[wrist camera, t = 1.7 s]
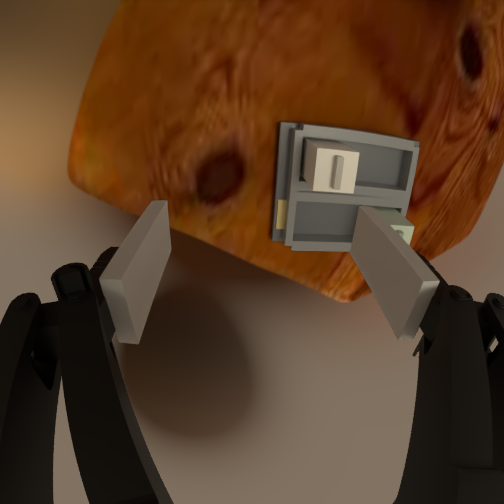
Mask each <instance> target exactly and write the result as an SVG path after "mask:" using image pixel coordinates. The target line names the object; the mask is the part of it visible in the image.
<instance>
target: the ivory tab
mask: <svg viewBox="0 0 504 504" xmlns="http://www.w3.org/2000/svg"><path fill="white" fill-rule="evenodd" d="M358 160H359V152H358V151H356V150H354V149H352V148H350V147H349V146H347V145H345V144H343V143H341V142H340V141H331V140H322V139H311V138H304V142H303V153H302V164H301V175H302V176H303V178H304V179H305V180H306V182H307V183H308V185H309V186H310V187H311V189H312V190H313V191H324V192H339V193H352V194H353V193H354V187H355V180H356V174H357V167H358Z"/></svg>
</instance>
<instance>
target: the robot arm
mask: <svg viewBox="0 0 504 504" xmlns="http://www.w3.org/2000/svg"><path fill="white" fill-rule="evenodd" d="M170 252H171V241H170V230H169V218H168V205H167V200H153V201H151V203H150V204H149V206H148V207H147V208H146V210H145V211H144V212H143V214H142V215H141V217H140V218H139V219H138V221H137V222H136V224H135V225H134V227H133V228H132V229H131V231H130V232H129V234H128V235H127V237H126V238H125V240H124V241H123V243H122V244H121V246H120V247H110V248H108V249H107V250H106V251H104V252H103V253H102V254H101V255H100V257H99V258H98V259H97V262H95V264H94V265H93V268H91V269H90V271H89V269H88V267H87V265H85V264H83V263H70V264H67V265H64V266H62V267H60V268H58V269H57V270H56V271H55V272H54V273H53V274H52V276H51V281H52V284H53V287H54V290H55V292H56V295H57V298H58V301H56V302H50V303H43V304H41V301H40V299H39V297H38V295H37V294H35V293H25V294H21V295H19V296H17V297H16V298H15V299H14V300H13V301H12V302H11V303H10V305H9V306H8V309H7V311H6V313H5V315H4V317H3V319H2V322H1V324H0V504H54V503H53V452H54V435H55V422H56V413H57V404H58V396H59V389H60V382H61V376H62V382H63V390H64V398H65V404H66V411H67V417H68V423H69V428H70V433H71V438H72V442H73V447H74V452H75V456H76V460H77V463H78V467H79V471H80V475H81V478H82V482H83V485H84V488H85V491H86V495H87V498H88V500H89V504H174V503H173V502H172V500H171V498H170V495H169V493H168V492H167V490H166V487H165V486H164V483H163V481H162V479H161V477H160V475H159V473H158V471H157V468H156V466H155V464H154V462H153V459H152V457H151V455H150V452H149V450H148V448H147V445H146V443H145V440H144V438H143V435H142V433H141V430H140V427H139V425H138V422H137V419H136V416H135V414H134V411H133V408H132V405H131V402H130V399H129V396H128V393H127V390H126V387H125V384H124V380H123V377H122V374H121V370H120V367H119V363H118V360H117V356H116V352H115V349H114V346H113V343H112V337H113V334H114V332H116V335H117V338H118V340H119V342H123V343H133V344H139V341H140V338H141V335H142V332H143V329H144V326H145V323H146V319H147V317H148V314H149V311H150V308H151V304H152V302H153V299H154V296H155V293H156V291H157V288H158V285H159V282H160V279H161V277H162V274H163V271H164V268H165V265H166V263H167V260H168V258H169V255H170ZM350 255H351V256H352V258H353V260H354V261H355V263H356V265H357V266H358V268H359V270H360V271H361V273H362V275H363V277H364V278H365V280H366V282H367V284H368V285H369V287H370V289H371V291H372V293H373V294H374V296H375V298H376V300H377V302H378V303H379V305H380V307H381V309H382V311H383V313H384V314H385V316H386V318H387V320H388V322H389V324H390V326H391V328H392V330H393V331H394V334H395V335H396V337H397V339H398V340H405V339H413V338H414V337H415V335H416V333H417V331H418V329H419V327H420V328H421V330H422V331H423V333H424V334H423V336H422V338H421V340H420V341H419V344H418V345H417V347H416V349H415V351H414V353H413V356H415V355H416V354H417V352H419V368H418V381H417V393H416V401H415V410H414V417H413V424H412V431H411V437H410V442H409V448H408V453H407V458H406V463H405V468H404V472H403V476H402V480H401V484H400V489H399V492H398V495H397V498H396V500H395V501H394V503H393V504H504V297H503V296H502V295H500V294H496V293H489V294H488V295H487V297H486V299H485V301H484V303H482V302H476V301H473V298H472V296H471V295H470V294H469V293H468V292H467V291H466V290H465V289H463V288H461V287H458V286H454V285H448V284H447V282H446V281H445V280H444V279H443V278H442V277H441V275H440V274H439V273H438V272H437V271H435V268H434V267H433V266H432V265H430V263H429V262H428V260H427V259H426V258H425V257H424V256H422V255H421V254H419V253H418V252H416V251H414V250H413V249H412V248H411V247H410V246H409V245H408V244H407V243H406V241H405V240H404V239H403V238H402V237H401V236H400V235H399V234H398V233H397V232H396V231H395V230H394V229H393V228H392V226H391V225H390V224H389V223H388V222H387V221H386V220H385V219H384V218H383V217H382V216H381V215H380V214H379V213H378V212H377V211H376V210H375V209H374V208H373V207H367V206H359V209H358V215H357V220H356V225H355V230H354V235H353V240H352V244H351V249H350ZM495 338H497V341H498V345H497V346H496V348H495V349H494V351H493V352H491V350H490V346H491V344H492V343H493V341H494V340H495Z"/></svg>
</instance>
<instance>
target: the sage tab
mask: <svg viewBox="0 0 504 504" xmlns="http://www.w3.org/2000/svg"><path fill="white" fill-rule="evenodd" d="M363 206H367V207H373V208H374V209H375V210H376V211H377V212H378V213H379V214H380V215H381V216H382V217H383V218H384V219H385V220H386V221H387V222H388V223H389V224H390V225H391V226H392V228H393V229H394V230H395V231H396V232H397V233H398V234H399V235H400V236H401V237H402V238H403V239H404V240H405V241H406V243H407V244H408V245H409V244H410V241H411V237H412V234H413V230H414V227H415V226H413V225H412V224H411V223H410V222H409V221H408V220H407V219H406V218H405V217H404V216H403V215H402V214H400V213H399V212H398V211H397V210H396V209H395V208H392V207H381V206H368V205H363Z"/></svg>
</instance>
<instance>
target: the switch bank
mask: <svg viewBox="0 0 504 504" xmlns="http://www.w3.org/2000/svg"><path fill="white" fill-rule="evenodd" d="M304 138H311V139H322V140H331V141H340V142H341V143H343V144H345V145H347V146H349V147H350V148H352V149H354V150H356V151H358V152H359V160H358V167H357V174H356V180H355V187H354V193H353V194H352V193H339V192H324V191H313V190H312V189H311V187H310V186H309V185H308V183H307V182H306V180H305V179H304V178H303V176H302V175H301V164H302V153H303V142H304ZM418 154H419V142H418V141H416V140H411V139H407V138H403V137H398V136H392V135H387V134H382V133H376V132H370V131H364V130H357V129H350V128H343V127H335V126H327V125H318V124H308V123H295V122H282V121H280V127H279V142H278V157H277V172H276V186H275V199H274V213H273V226H272V241H284V244H285V246H290V248H291V250H298V251H349V252H350V249H351V244H352V240H353V235H354V230H355V225H356V220H357V215H358V209H359V206H363V205H368V206H381V207H392V208H395V209H396V210H397V211H398V212H399V213H400V214H402V215H403V216H404V217H405V216H406V212H407V208H408V204H409V199H410V195H411V190H412V186H413V181H414V176H415V170H416V165H417V159H418Z"/></svg>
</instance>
